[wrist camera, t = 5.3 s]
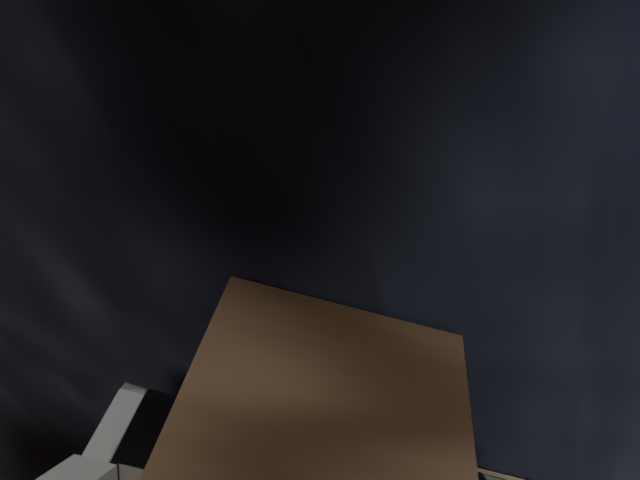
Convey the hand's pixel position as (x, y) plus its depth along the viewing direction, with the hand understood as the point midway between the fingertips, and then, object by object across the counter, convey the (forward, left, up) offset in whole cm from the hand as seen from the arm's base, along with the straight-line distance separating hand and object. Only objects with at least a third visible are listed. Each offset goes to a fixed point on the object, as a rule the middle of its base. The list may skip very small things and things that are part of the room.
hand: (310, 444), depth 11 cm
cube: (0, 0, -2) cm, 2 cm away
